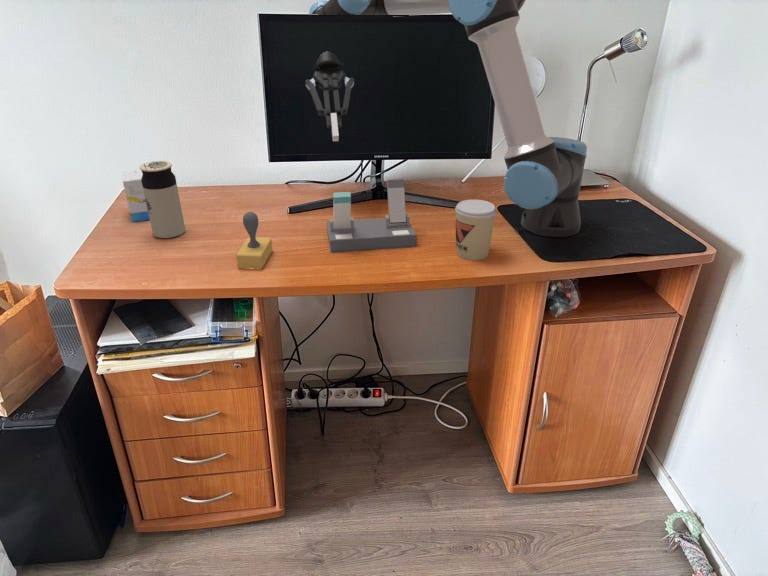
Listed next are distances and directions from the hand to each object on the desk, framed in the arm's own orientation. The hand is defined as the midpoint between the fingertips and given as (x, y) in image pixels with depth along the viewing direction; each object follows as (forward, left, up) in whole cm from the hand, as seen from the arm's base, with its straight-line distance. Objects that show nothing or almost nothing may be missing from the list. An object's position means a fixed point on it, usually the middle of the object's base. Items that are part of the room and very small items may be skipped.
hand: (335, 138), depth 143 cm
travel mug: (+20, +40, -22) cm, 50 cm away
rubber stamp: (-8, +30, -22) cm, 38 cm away
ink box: (+36, +40, -22) cm, 58 cm away
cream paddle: (-12, +8, -17) cm, 23 cm away
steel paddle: (-19, -5, -17) cm, 26 cm away
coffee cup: (-38, -12, -22) cm, 45 cm away
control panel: (-16, +2, -22) cm, 27 cm away
